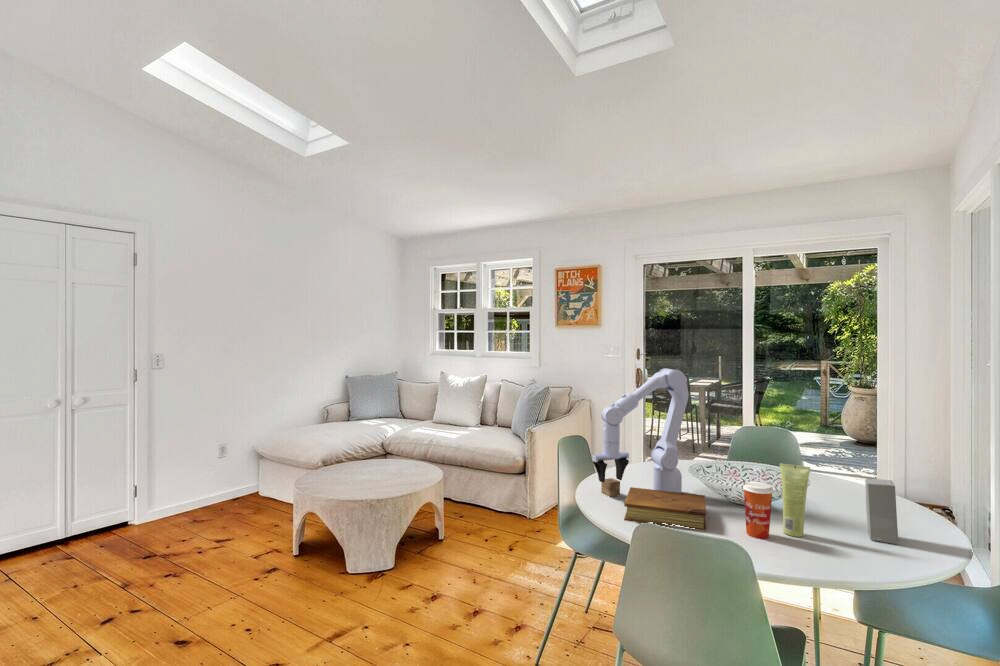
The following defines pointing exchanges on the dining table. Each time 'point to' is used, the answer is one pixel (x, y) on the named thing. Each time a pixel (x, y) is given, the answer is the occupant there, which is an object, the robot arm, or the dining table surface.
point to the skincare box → (881, 510)
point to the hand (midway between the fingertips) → (610, 480)
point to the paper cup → (757, 508)
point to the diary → (666, 508)
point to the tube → (794, 497)
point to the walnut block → (610, 487)
